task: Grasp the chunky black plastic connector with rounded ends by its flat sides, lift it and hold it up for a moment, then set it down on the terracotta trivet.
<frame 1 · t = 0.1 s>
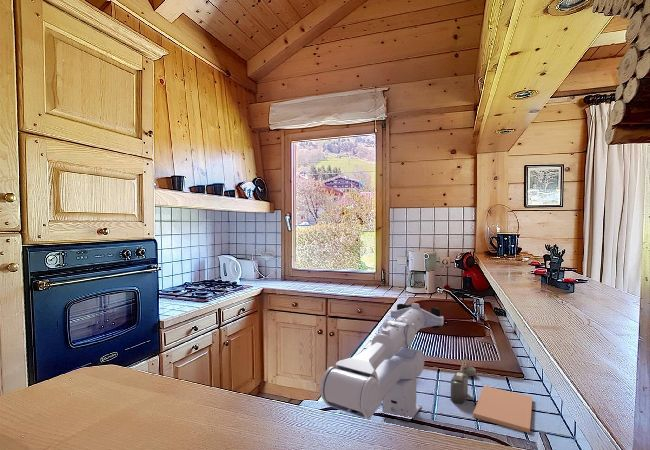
hand: (425, 309, 106), 22 cm above the table, tool horizontal, fingers open, 7 cm apart
battery: (397, 369, 115), on the table
figurine: (467, 375, 111), on the table
trivet: (504, 408, 90), on the table
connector: (459, 397, 96), on the table
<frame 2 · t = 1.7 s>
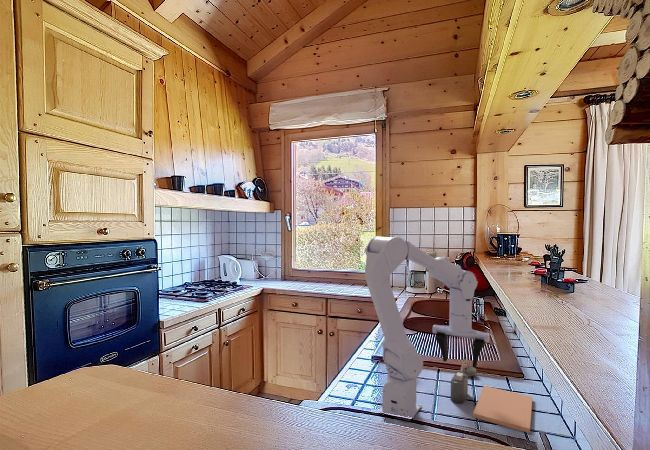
hand: (459, 363, 96), 9 cm above the table, tool pointing down, fingers open, 7 cm apart
nothing on the table moved.
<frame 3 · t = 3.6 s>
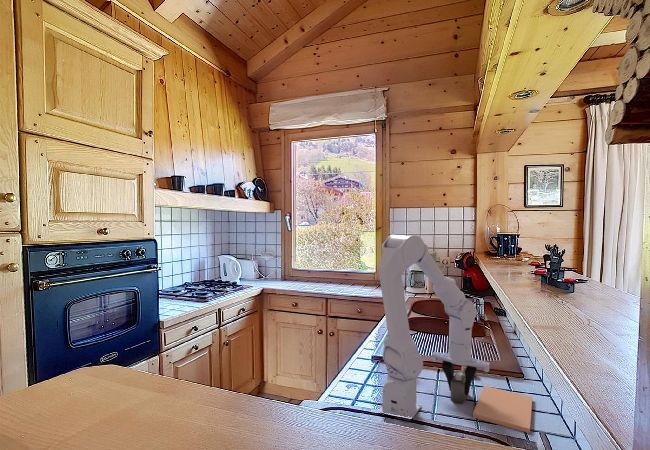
hand: (459, 391, 96), 1 cm above the table, tool pointing down, fingers closed on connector, 3 cm apart
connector: (459, 396, 96), on the table, touching gripper
everything else where it was.
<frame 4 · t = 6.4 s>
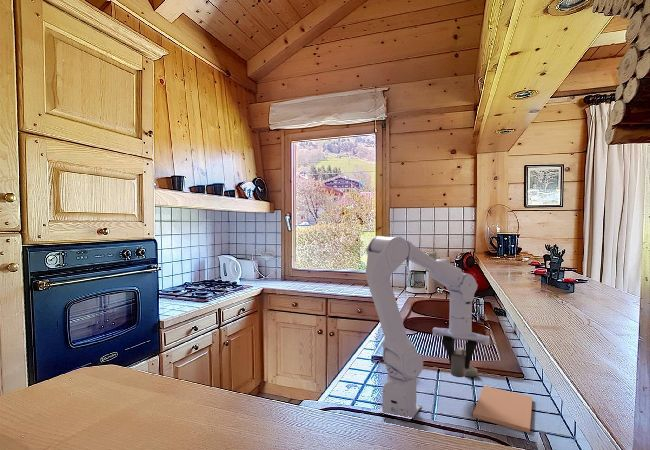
hand: (459, 366, 96), 8 cm above the table, tool pointing down, fingers closed on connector, 3 cm apart
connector: (459, 371, 96), point 7 cm above the table, touching gripper
everything else where it was.
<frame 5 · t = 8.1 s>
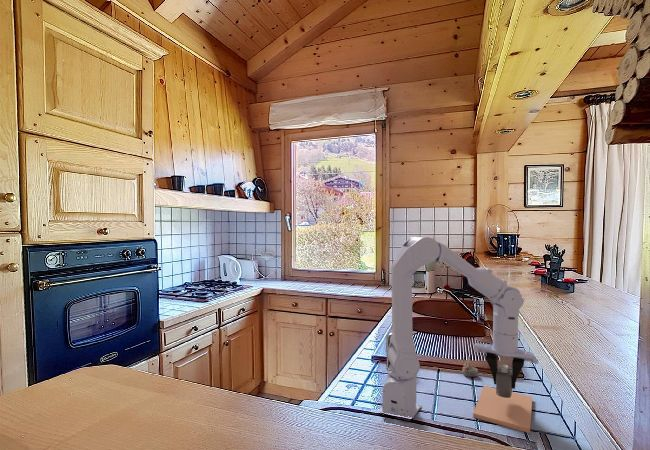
hand: (504, 385, 90), 6 cm above the table, tool pointing down, fingers closed on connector, 3 cm apart
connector: (504, 390, 90), point 5 cm above the table, touching gripper
everything else where it was.
when the fingers open (3 cm above the table, at t = 9.4 s): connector stays where it is, resting on trivet.
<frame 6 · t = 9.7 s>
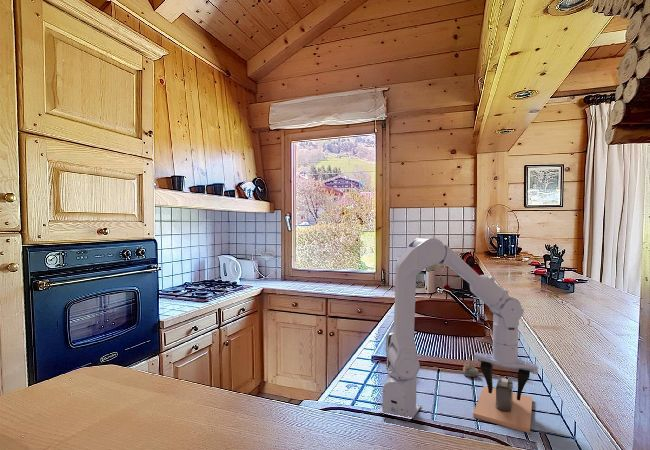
hand: (504, 395, 90), 3 cm above the table, tool pointing down, fingers open, 6 cm apart
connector: (504, 404, 90), point 1 cm above the table, touching trivet
everything else where it was.
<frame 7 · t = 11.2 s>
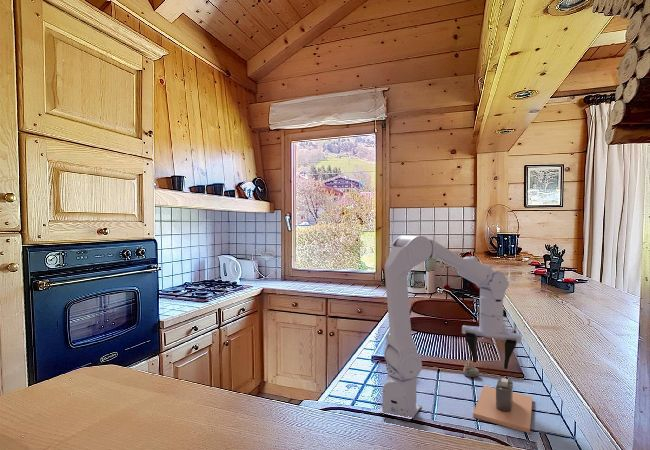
hand: (490, 364, 95), 9 cm above the table, tool pointing down, fingers open, 7 cm apart
nothing on the table moved.
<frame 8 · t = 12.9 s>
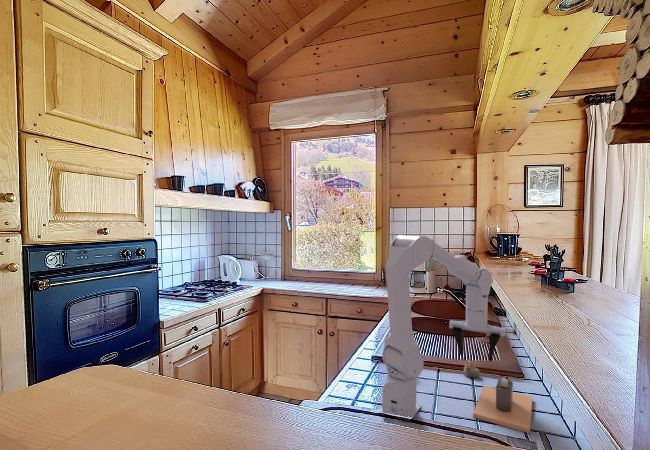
hand: (475, 356, 101), 9 cm above the table, tool pointing down, fingers open, 7 cm apart
at the end: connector inside the target area on the trivet (0.1 cm from its centre), point 1.0 cm above the trivet's base; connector touching trivet; the gripper is holding nothing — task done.
